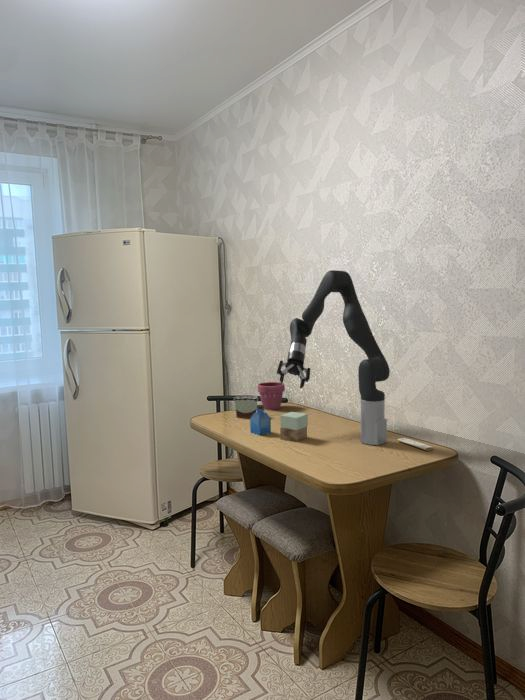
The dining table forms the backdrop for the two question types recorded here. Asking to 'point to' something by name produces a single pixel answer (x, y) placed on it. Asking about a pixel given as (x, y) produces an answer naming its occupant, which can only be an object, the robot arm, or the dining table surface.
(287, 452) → the dining table surface
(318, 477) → the dining table surface
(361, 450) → the dining table surface
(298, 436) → the tower base block
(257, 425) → the perfume bottle
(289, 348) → the robot arm
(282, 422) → the tower top block
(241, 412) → the food container
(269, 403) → the plant pot
